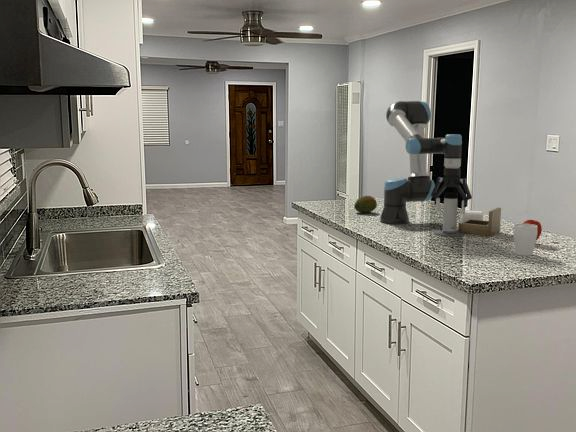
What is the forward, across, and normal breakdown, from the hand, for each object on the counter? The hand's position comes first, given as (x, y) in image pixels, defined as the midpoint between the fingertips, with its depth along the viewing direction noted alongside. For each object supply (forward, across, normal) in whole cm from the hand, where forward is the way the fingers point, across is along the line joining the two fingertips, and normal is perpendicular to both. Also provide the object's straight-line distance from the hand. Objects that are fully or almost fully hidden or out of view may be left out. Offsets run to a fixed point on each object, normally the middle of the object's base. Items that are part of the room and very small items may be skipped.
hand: (450, 212), depth 276 cm
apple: (+11, +37, 0) cm, 38 cm away
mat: (+10, 0, 0) cm, 10 cm away
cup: (+11, +40, -23) cm, 47 cm away
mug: (+11, +1, +28) cm, 30 cm away
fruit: (+11, -63, +32) cm, 71 cm away
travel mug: (+10, 0, 0) cm, 10 cm away
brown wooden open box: (+10, +10, +11) cm, 18 cm away
